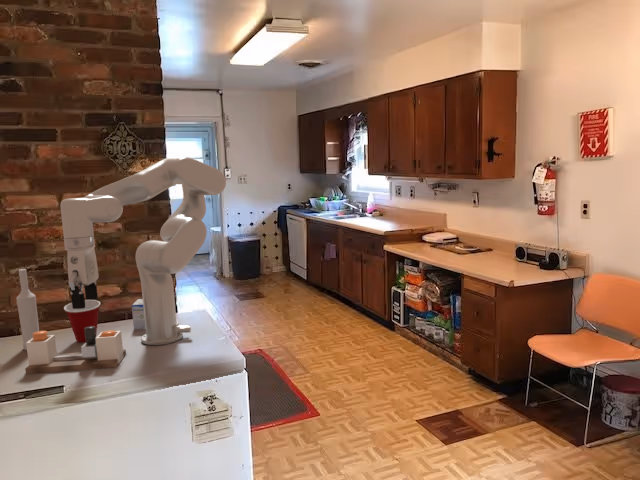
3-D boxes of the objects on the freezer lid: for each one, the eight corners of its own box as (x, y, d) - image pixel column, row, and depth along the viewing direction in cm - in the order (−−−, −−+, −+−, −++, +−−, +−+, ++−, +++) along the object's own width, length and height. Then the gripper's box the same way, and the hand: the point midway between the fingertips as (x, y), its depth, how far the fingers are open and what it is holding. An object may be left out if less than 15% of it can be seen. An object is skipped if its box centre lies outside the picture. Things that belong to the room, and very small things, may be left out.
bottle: (29, 351, 162) (18, 272, 158) (19, 349, 164) (9, 270, 161) (45, 346, 166) (35, 268, 162) (36, 343, 169) (26, 267, 165)
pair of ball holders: (123, 357, 153) (120, 330, 152) (118, 364, 148) (115, 336, 147) (38, 363, 152) (35, 336, 150) (29, 370, 146) (26, 342, 145)
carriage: (102, 348, 153) (99, 324, 152) (95, 356, 147) (92, 330, 146) (89, 349, 152) (87, 324, 151) (82, 357, 147) (79, 331, 145)
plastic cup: (67, 348, 163) (62, 310, 161) (68, 338, 173) (63, 302, 171) (105, 342, 167) (101, 305, 166) (103, 332, 177) (100, 297, 175)
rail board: (126, 354, 155) (125, 346, 155) (115, 367, 146) (114, 358, 145) (42, 360, 154) (41, 351, 153) (25, 373, 144) (24, 364, 144)
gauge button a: (117, 336, 151) (116, 329, 151) (113, 340, 148) (112, 334, 147) (104, 337, 151) (103, 330, 151) (100, 341, 147) (99, 334, 147)
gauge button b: (50, 337, 150) (49, 330, 149) (44, 341, 146) (43, 334, 146) (36, 337, 150) (36, 331, 149) (31, 342, 146) (30, 335, 146)
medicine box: (139, 322, 187) (137, 299, 185) (152, 321, 187) (150, 298, 186) (133, 329, 179) (131, 305, 178) (147, 328, 179) (144, 304, 178)
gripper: (82, 247, 136) (88, 311, 139) (103, 238, 154) (109, 295, 156) (52, 248, 136) (59, 312, 138) (77, 239, 153) (83, 296, 155)
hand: (85, 303), depth 147 cm, fingers open, 9 cm apart
